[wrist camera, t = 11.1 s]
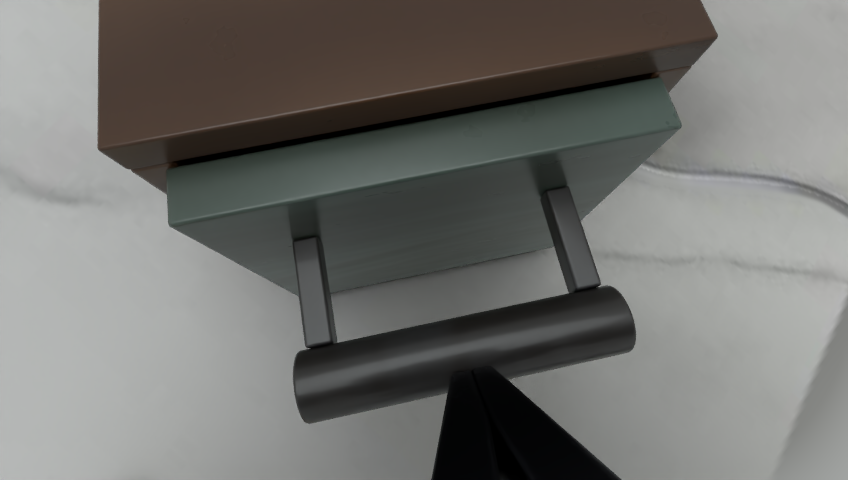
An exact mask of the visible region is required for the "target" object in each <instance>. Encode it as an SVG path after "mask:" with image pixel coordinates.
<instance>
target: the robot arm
mask: <svg viewBox="0 0 848 480" xmlns="http://www.w3.org/2000/svg"><path fill="white" fill-rule="evenodd" d="M431 480H621V479H620V478H619V477H618V476H617V475H616V474H614V473H613V472H612V471H611V470H610V469H609V468H608V467H607V466H605V465H604V464H603V463H602V462H601V461H600V460H599V459H597V458H596V457H595V456H594V455H593V454H592V453H591V452H589V451H588V450H587V449H586V448H585V447H584V446H583V445H581V444H580V443H579V442H578V441H577V440H576V439H575V438H573V437H572V436H571V435H570V434H569V433H568V432H567V431H565V430H564V429H563V428H562V427H561V426H560V425H559V424H557V423H556V422H555V421H554V420H553V419H552V418H551V417H549V416H548V415H547V414H546V413H545V412H544V411H543V410H541V409H540V408H539V407H538V406H537V405H536V404H535V403H533V402H532V401H531V400H530V399H529V398H528V397H527V396H525V395H524V394H523V393H522V392H521V391H520V390H519V389H517V388H516V387H515V386H514V385H513V384H512V383H511V382H509V381H508V380H507V379H506V378H505V377H504V376H503V375H501V374H500V373H499V372H498V371H497V370H496V369H495V368H493V367H492V366H484V367H480V368H475V369H473V370H472V372H471V371H469V370H466V371H462V372H457V373H453V374H452V375H451V379H450V384H449V389H448V394H447V400H446V405H445V410H444V416H443V421H442V426H441V432H440V437H439V442H438V447H437V453H436V458H435V463H434V469H433V474H432V479H431Z"/></svg>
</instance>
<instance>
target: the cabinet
mask: <svg viewBox="0 0 848 480" xmlns="http://www.w3.org/2000/svg"><path fill="white" fill-rule="evenodd" d="M717 37H718V34H717V32H716V30H715V28H714V26H713V24H712V22H711V20H710V18H709V16H708V14H707V12H706V10H705V8H704V6H703V4H702V2H701V0H99V40H98V150H99V151H100V152H102V153H103V154H105V155H106V156H108V157H109V158H111V159H112V160H114V161H116V162H117V163H119V164H120V165H122V166H123V167H125V168H126V169H131V170H132V172H133V173H135V174H136V175H138V176H139V177H141V178H143V179H144V180H146V181H147V182H149V183H150V184H152V185H153V186H155V187H156V188H158V189H159V190H161V191H162V192H164V193H165V194H167V180H166V171H167V169H169V168H174V167H180V166H185V165H190V164H196V163H201V162H206V161H212V160H217V159H222V158H228V157H233V156H239V155H244V154H243V152H242V151H241V150H240V149H243V148H249V147H254V146H260V145H265V144H270V143H276V142H281V141H286V140H292V139H297V138H303V137H308V136H313V135H319V134H324V133H330V132H335V131H340V130H346V129H351V128H357V127H362V126H367V125H373V124H378V123H383V122H389V121H394V120H400V119H405V118H410V117H416V116H421V115H427V114H432V113H437V112H443V111H448V110H454V109H459V108H464V107H470V106H475V105H480V104H486V103H491V102H497V101H502V100H507V99H513V98H518V97H524V96H529V95H534V94H540V93H545V92H551V91H556V90H561V89H567V88H572V87H575V88H574V90H573V92H572V93H577V92H582V91H587V90H593V89H598V88H603V87H609V86H614V85H619V84H625V83H630V82H636V81H641V80H646V79H652V78H657V77H660V78H662V80H663V82H664V84H665V87H666V89H667V91H668V93H669V92H670V90H671V89H672V88H673V87H674V86H675V85H676V84H677V83H678V82H679V80H680V79H681V78H682V77H683V76H684V75H685V74H686V73H687V71H688V70H689V69H690V68H691V66H692V65H693V64H694V63H695V62H696V61H697V60H698V59H699V58H700V57H701V56H702V54H703V53H704V52H705V51H706V50H707V49H708V48H709V47H710V46H711V44H712V43H713V42H714V41H715V40H716V39H717Z"/></svg>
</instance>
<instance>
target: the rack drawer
mask: <svg viewBox="0 0 848 480" xmlns="http://www.w3.org/2000/svg"><path fill="white" fill-rule="evenodd" d="M574 88H575V87H572V88H567V89H561V90H556V91H551V92H545V93H540V94H534V95H529V96H524V97H518V98H513V99H507V100H502V101H497V102H491V103H486V104H480V105H475V106H470V107H464V108H459V109H454V110H448V111H443V112H437V113H432V114H427V115H421V116H416V117H410V118H405V119H400V120H394V121H389V122H383V123H378V124H373V125H367V126H362V127H357V128H351V129H346V130H340V131H335V132H330V133H324V134H319V135H313V136H308V137H303V138H297V139H292V140H286V141H281V142H276V143H270V144H265V145H260V146H254V147H249V148H243V149H240V150H241V151H242V152H243V154H244V155H239V156H233V157H228V158H222V159H217V160H212V161H206V162H201V163H196V164H190V165H185V166H180V167H174V168H169V169H167V171H166V180H167V203H168V223H169V226H170V227H172V228H173V229H175V230H177V231H179V232H181V233H183V234H185V235H186V236H188V237H190V238H192V239H194V240H196V241H197V242H199V243H201V244H203V245H205V246H207V247H208V248H210V249H212V250H214V251H216V252H218V253H220V254H221V255H223V256H225V257H227V258H229V259H231V260H232V261H234V262H236V263H238V264H240V265H242V266H243V267H245V268H247V269H249V270H251V271H253V272H255V273H256V274H258V275H260V276H262V277H264V278H266V279H267V280H269V281H271V282H273V283H275V284H277V285H278V286H280V287H282V288H284V289H286V290H288V291H290V292H291V293H293V294H295V295H297V296H299V301H300V309H301V317H302V325H303V332H304V340H305V346H306V348H311V349H306V350H302V351H299V352H298V353H297V354H296V357H295V360H294V367H293V384H294V392H295V398H296V403H297V406H298V410H299V412H300V415H301V417H302V419H303V420H304V422H306V423H308V424H311V423H315V422H320V421H324V420H329V419H333V418H338V417H342V416H347V415H351V414H356V413H360V412H365V411H369V410H374V409H378V408H383V407H387V406H391V405H396V404H400V403H405V402H409V401H414V400H418V399H423V398H427V397H432V396H436V395H441V394H445V393H448V389H449V384H450V379H451V375H452V374H453V373H457V372H462V371H466V370H469V371H471V372H472V370H473V369H475V368H480V367H484V366H492V367H493V368H495V369H496V370H497V371H498V372H499V373H500V374H501V375H503V376H504V377H505V378H506V379H507V380H508V379H512V378H517V377H521V376H526V375H530V374H535V373H539V372H544V371H548V370H552V369H557V368H561V367H566V366H570V365H575V364H579V363H584V362H588V361H593V360H597V359H602V358H606V357H611V356H615V355H620V354H624V353H628V352H630V351H631V350H632V349H633V348H634V345H635V341H636V330H635V324H634V320H633V317H632V314H631V311H630V309H629V306H628V304H627V302H626V301H625V299H624V298H623V296H622V295H621V294H620V293H619V291H618V290H616V289H615V288H614V287H611V286H601V287H598V286H600V285H601V282H600V279H599V276H598V273H597V270H596V266H595V263H594V260H593V257H592V254H591V251H590V248H589V245H588V242H587V239H586V236H585V233H584V230H583V227H582V224H581V220H582V219H583V218H584V217H585V216H586V215H587V214H588V213H590V212H591V211H592V210H593V209H594V208H595V207H596V206H597V205H598V204H599V203H600V202H601V201H602V200H604V199H605V198H606V197H607V196H608V195H609V194H610V193H611V192H612V191H613V190H614V189H615V188H616V187H618V186H619V185H620V184H621V183H622V182H623V181H624V180H625V179H626V178H627V177H628V176H629V175H630V174H632V173H633V172H634V171H635V170H636V169H637V168H638V167H639V166H640V165H641V164H642V163H643V162H644V161H646V160H647V159H648V158H649V157H650V156H651V155H652V154H653V153H654V152H655V151H656V150H657V149H658V148H660V147H661V146H662V145H663V144H664V143H665V142H666V141H667V140H668V139H669V138H670V137H671V136H672V135H674V134H675V133H676V132H677V131H678V130H679V129H680V128H681V126H682V125H681V121H680V119H679V117H678V114H677V112H676V110H675V107H674V105H673V103H672V101H671V98H670V96H669V94H668V91H667V89H666V87H665V84H664V82H663V80H662V78H660V77H657V78H652V79H646V80H641V81H636V82H630V83H625V84H619V85H614V86H609V87H603V88H598V89H593V90H587V91H582V92H577V93H572V92H573V90H574ZM553 246H554V247H555V250H556V253H557V257H558V260H559V263H560V266H561V270H562V273H563V276H564V279H565V283H566V286H567V289H568V292H569V294H564V295H559V296H555V297H550V298H545V299H540V300H536V301H531V302H526V303H522V304H517V305H512V306H508V307H503V308H498V309H494V310H489V311H484V312H480V313H475V314H470V315H466V316H461V317H456V318H452V319H447V320H442V321H438V322H433V323H428V324H423V325H419V326H414V327H409V328H405V329H400V330H395V331H391V332H386V333H381V334H377V335H372V336H367V337H363V338H358V339H353V340H349V341H344V342H339V343H337V336H336V329H335V323H334V316H333V309H332V302H331V296H330V293H333V292H338V291H343V290H348V289H352V288H357V287H362V286H367V285H372V284H377V283H381V282H386V281H391V280H396V279H401V278H406V277H410V276H415V275H420V274H425V273H430V272H435V271H439V270H444V269H449V268H454V267H459V266H464V265H468V264H473V263H478V262H483V261H488V260H493V259H497V258H502V257H507V256H512V255H517V254H522V253H526V252H531V251H536V250H541V249H546V248H551V247H553ZM596 287H597V288H596Z"/></svg>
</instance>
